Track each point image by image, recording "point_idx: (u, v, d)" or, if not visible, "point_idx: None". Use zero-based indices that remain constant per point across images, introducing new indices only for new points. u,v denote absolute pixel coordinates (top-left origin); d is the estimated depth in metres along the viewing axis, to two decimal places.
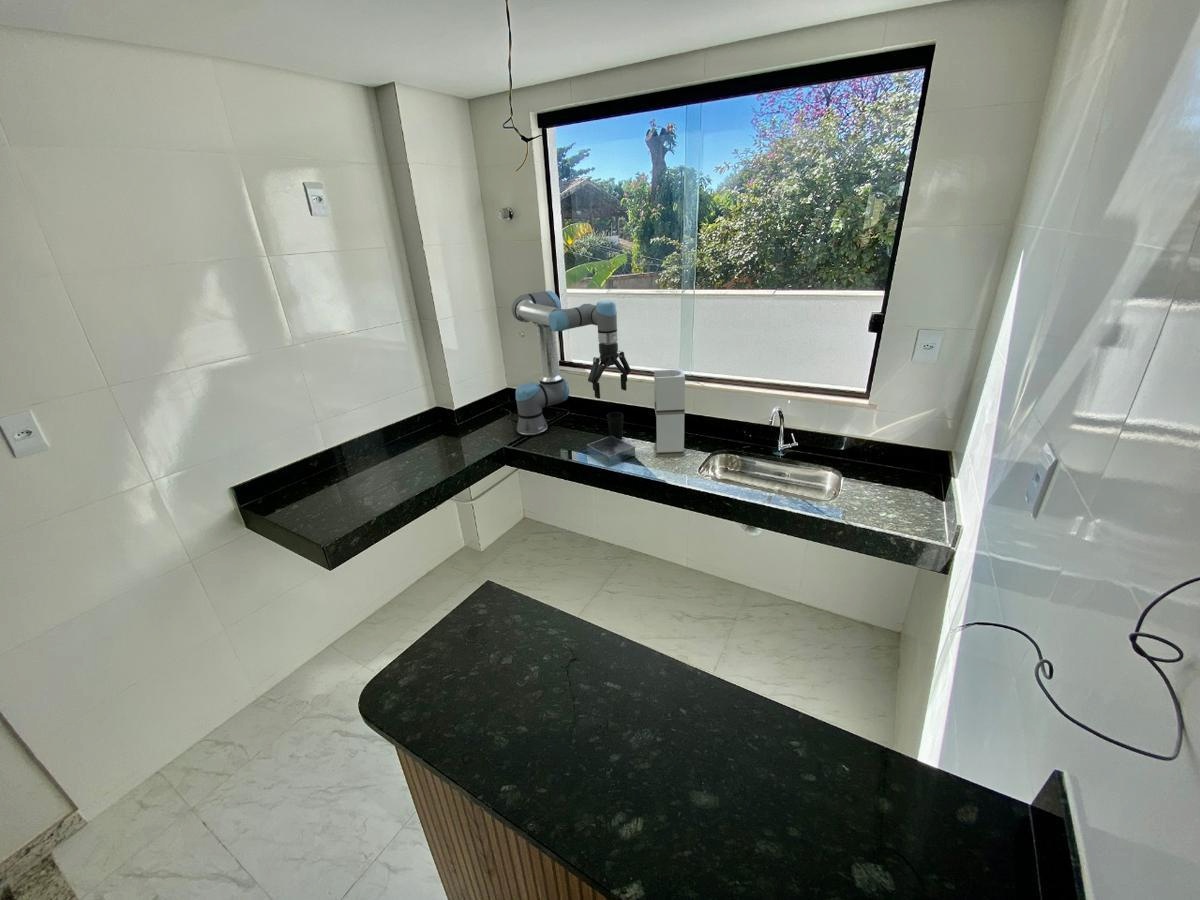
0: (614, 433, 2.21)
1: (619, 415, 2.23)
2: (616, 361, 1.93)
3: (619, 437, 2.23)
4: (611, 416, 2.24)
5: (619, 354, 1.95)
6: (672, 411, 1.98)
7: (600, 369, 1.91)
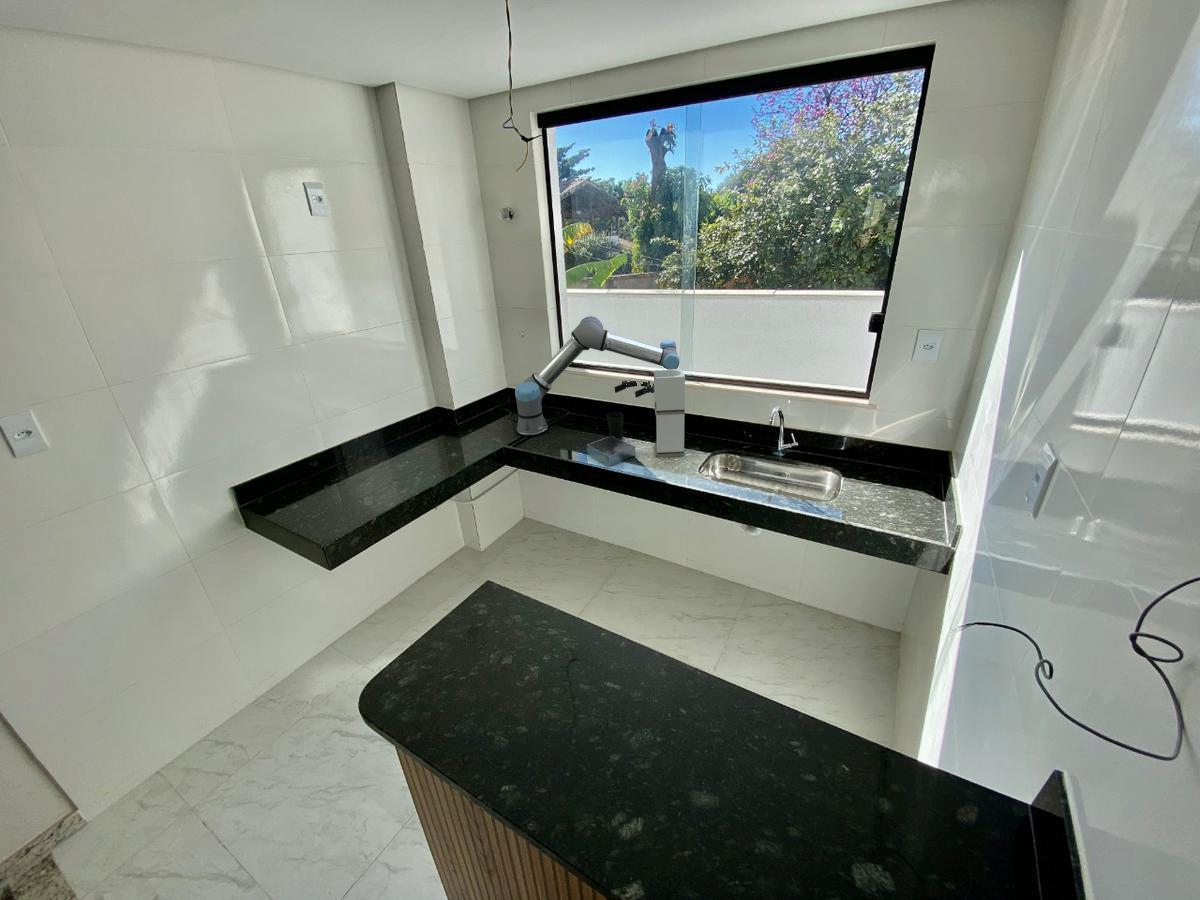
0: (614, 433, 2.21)
1: (619, 415, 2.23)
2: None
3: (619, 437, 2.23)
4: (611, 416, 2.24)
5: None
6: (672, 411, 1.98)
7: (650, 387, 2.25)
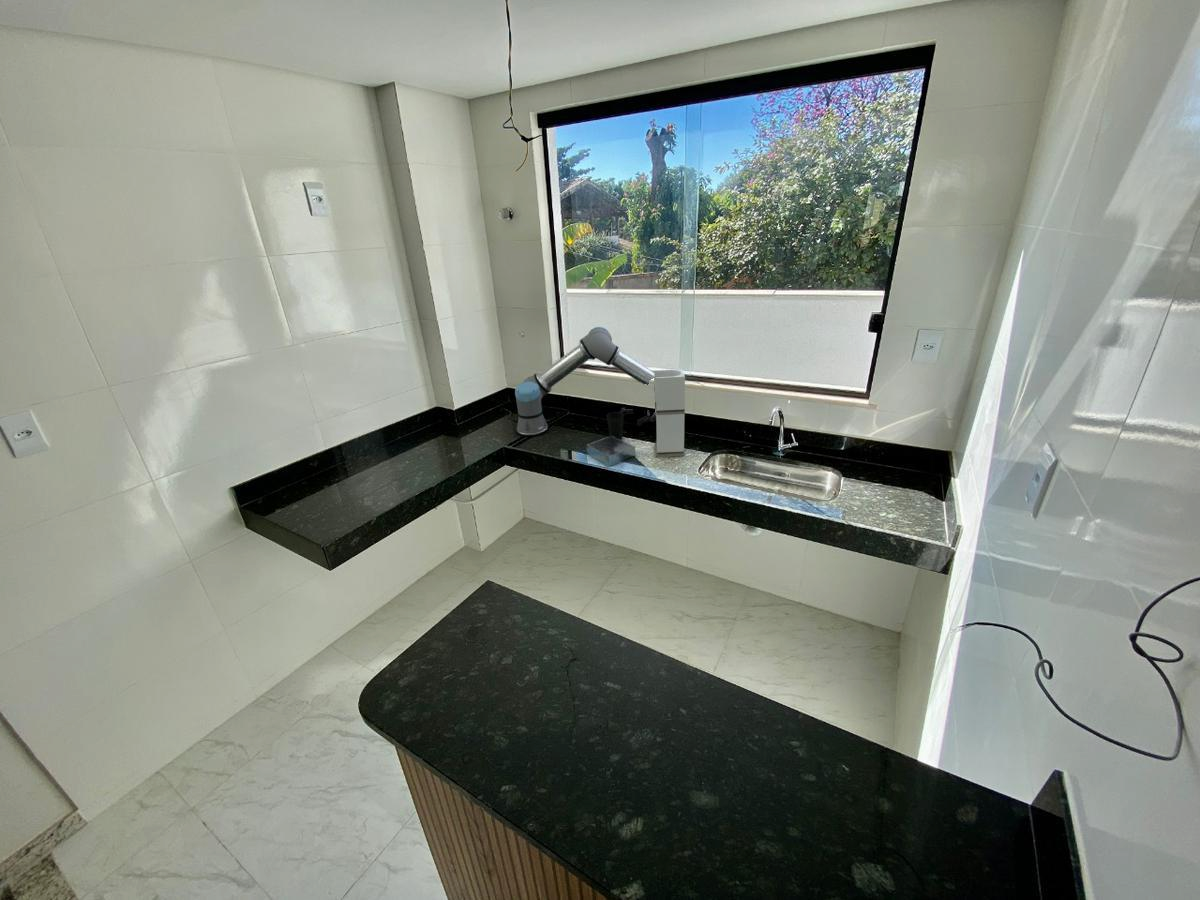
0: (614, 433, 2.21)
1: (619, 415, 2.23)
2: None
3: (619, 437, 2.23)
4: (611, 416, 2.24)
5: None
6: (672, 411, 1.98)
7: None
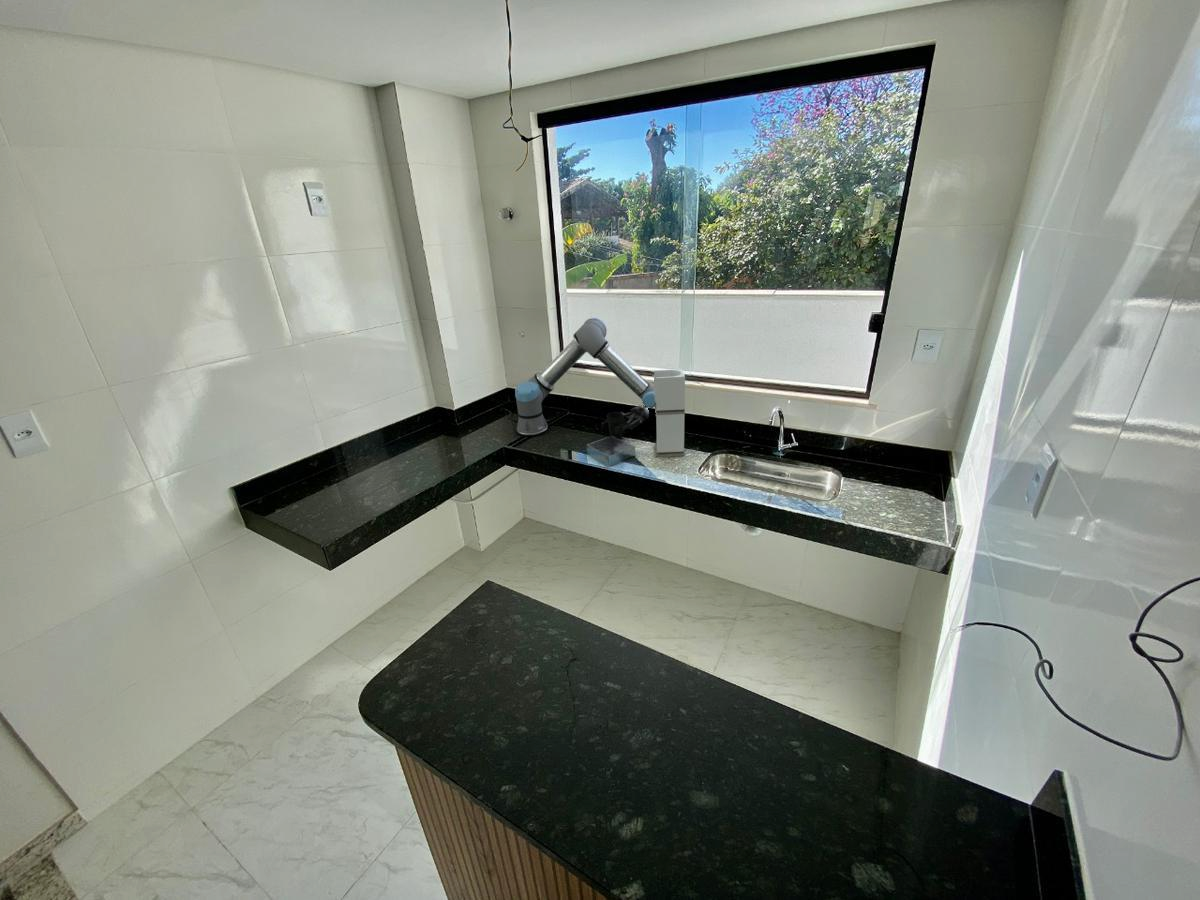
0: (614, 433, 2.21)
1: (619, 415, 2.23)
2: None
3: (619, 437, 2.23)
4: (611, 416, 2.24)
5: None
6: (672, 411, 1.98)
7: (631, 423, 2.25)
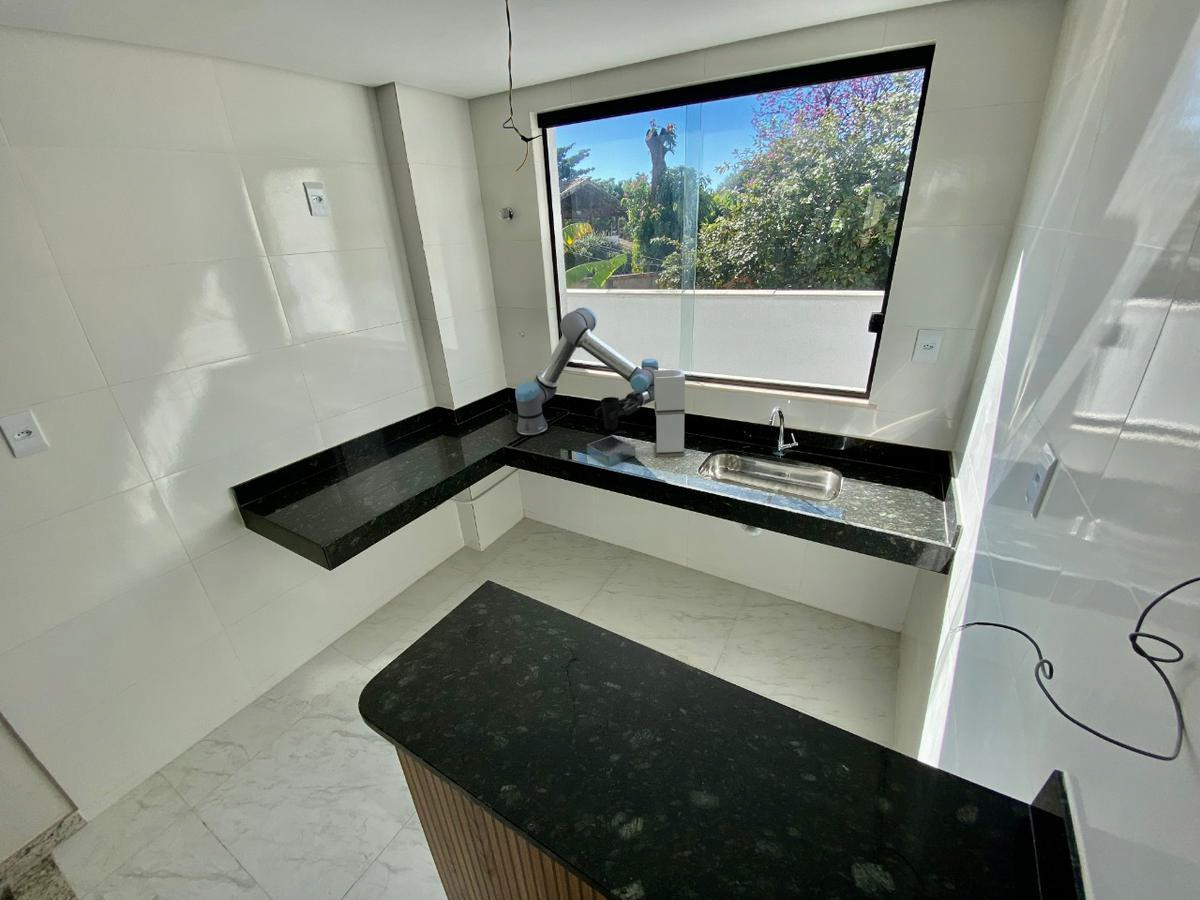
0: (608, 420, 2.05)
1: (614, 400, 2.07)
2: None
3: (614, 424, 2.06)
4: (605, 401, 2.08)
5: None
6: (672, 411, 1.98)
7: (628, 408, 2.09)
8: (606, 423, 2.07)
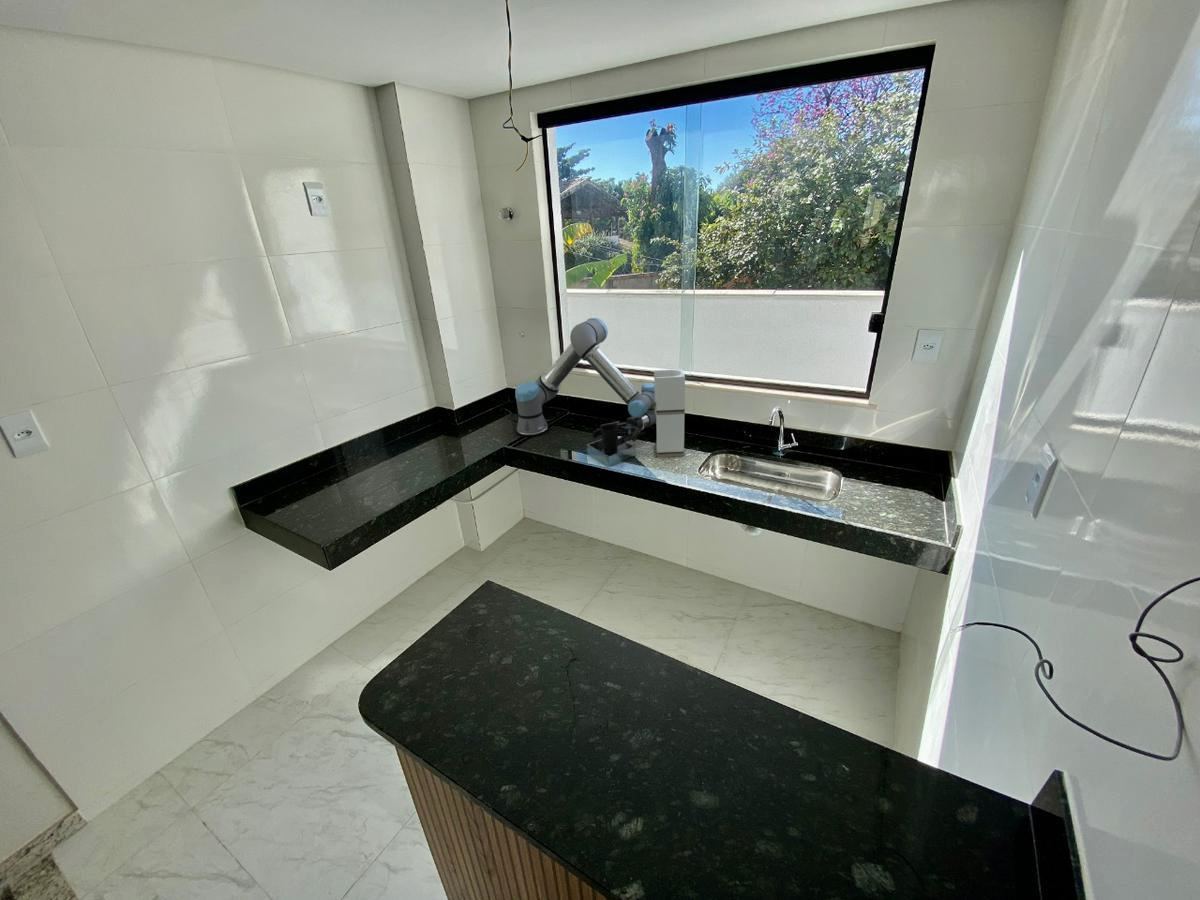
0: (608, 447, 2.06)
1: (614, 427, 2.08)
2: None
3: (614, 451, 2.08)
4: (605, 428, 2.09)
5: None
6: (672, 411, 1.98)
7: None
8: (606, 450, 2.08)
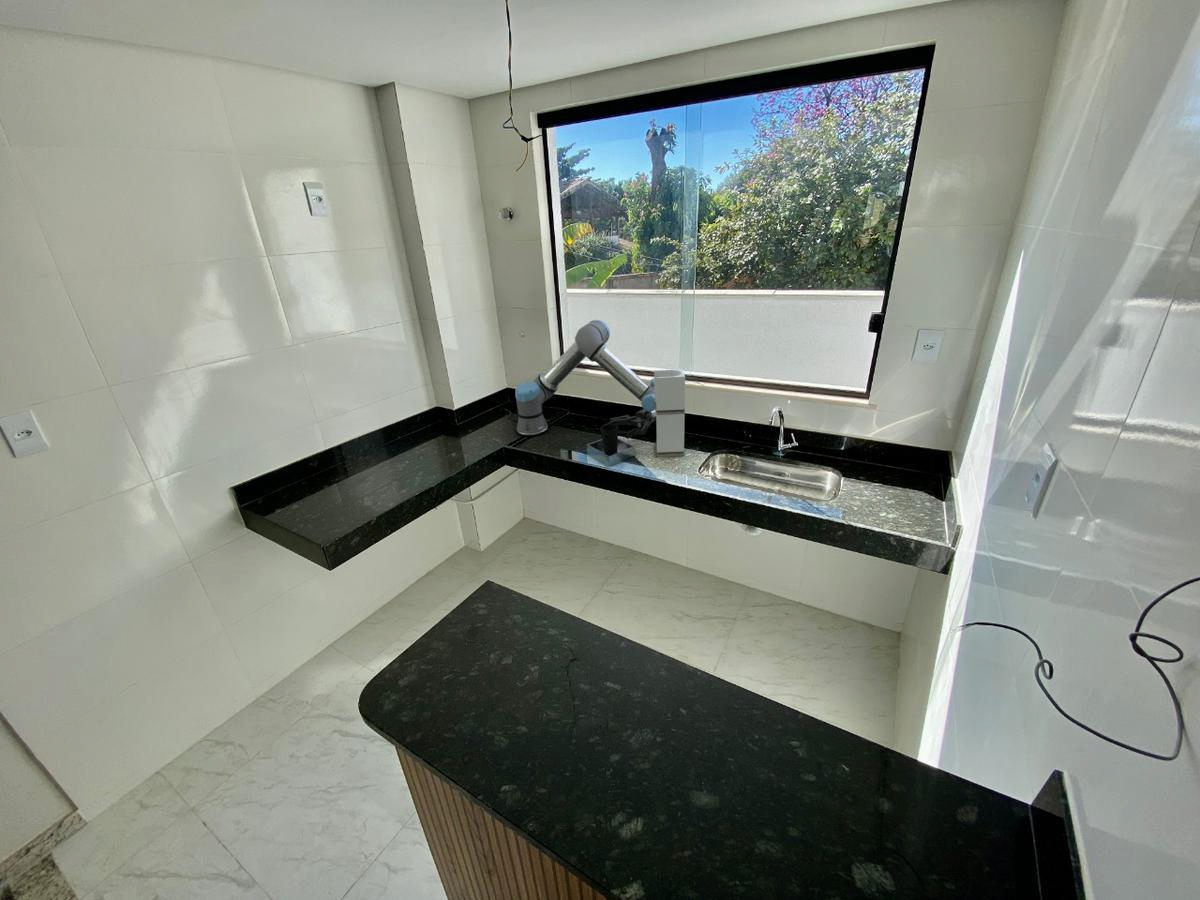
0: (608, 447, 2.06)
1: (614, 427, 2.08)
2: None
3: (614, 451, 2.08)
4: (605, 428, 2.09)
5: None
6: (672, 411, 1.98)
7: None
8: (606, 450, 2.08)
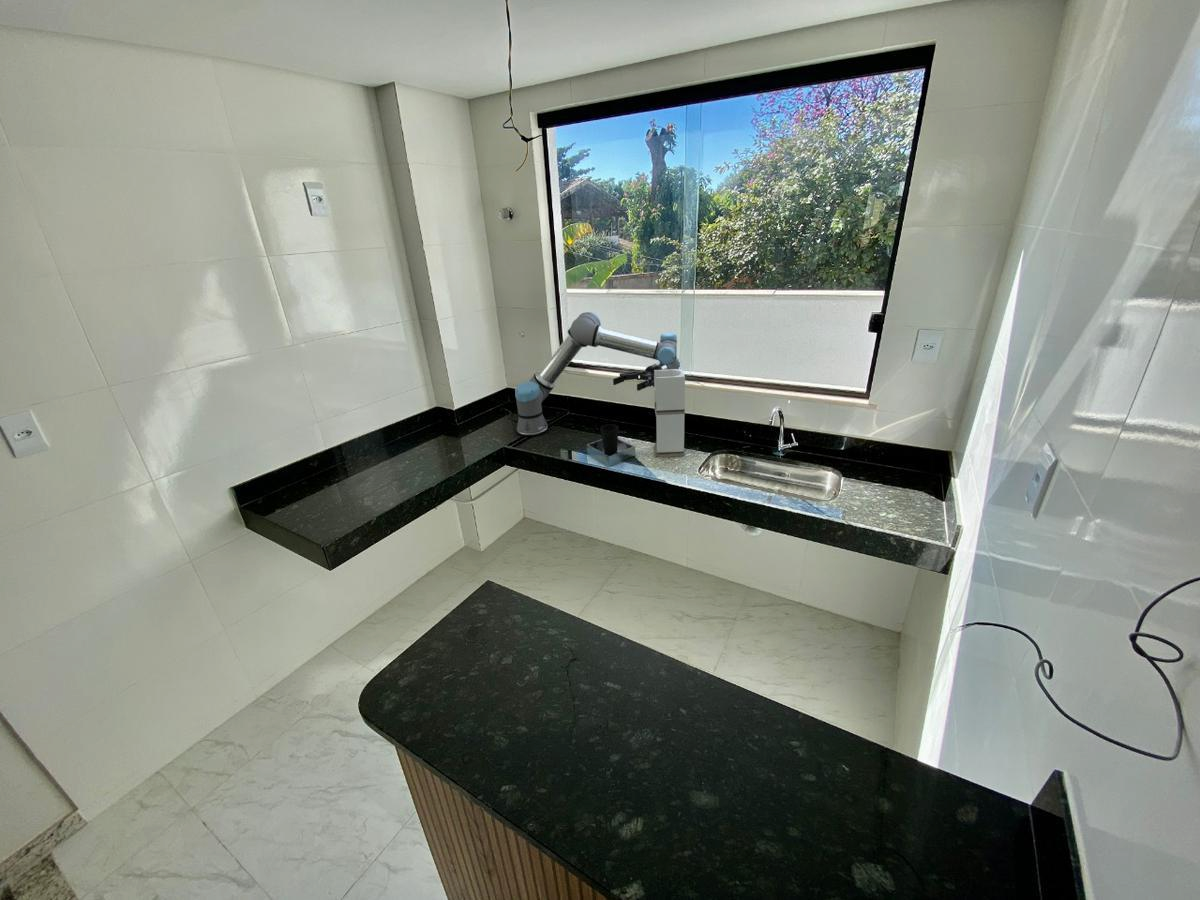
0: (608, 447, 2.06)
1: (614, 427, 2.08)
2: (641, 379, 2.19)
3: (614, 451, 2.08)
4: (605, 428, 2.09)
5: None
6: (672, 411, 1.98)
7: None
8: (606, 450, 2.08)
